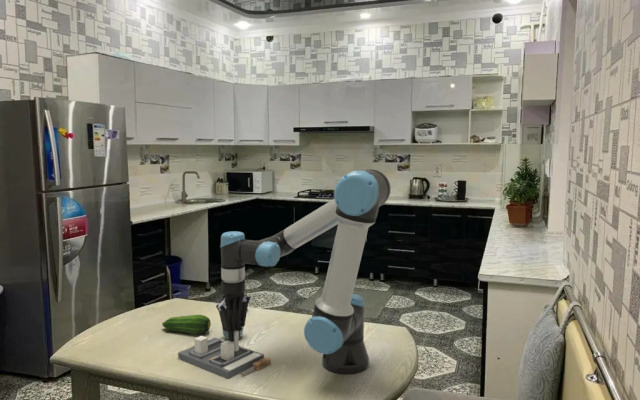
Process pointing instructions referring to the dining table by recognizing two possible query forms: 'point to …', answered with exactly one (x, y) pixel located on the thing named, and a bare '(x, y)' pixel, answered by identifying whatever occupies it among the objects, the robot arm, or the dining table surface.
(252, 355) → the switch board
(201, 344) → the tab
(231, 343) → the tab
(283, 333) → the dining table surface
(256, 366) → the screwdriver
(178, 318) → the vegetable
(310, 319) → the robot arm
